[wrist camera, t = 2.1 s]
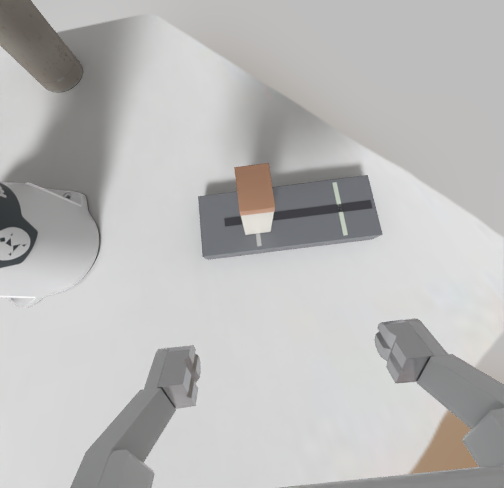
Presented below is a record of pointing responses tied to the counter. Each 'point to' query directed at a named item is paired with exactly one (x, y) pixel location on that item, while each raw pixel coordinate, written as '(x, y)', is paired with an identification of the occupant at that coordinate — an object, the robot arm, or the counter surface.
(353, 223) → the fader console
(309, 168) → the counter surface
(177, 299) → the counter surface
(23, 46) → the thermos bottle
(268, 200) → the fader
